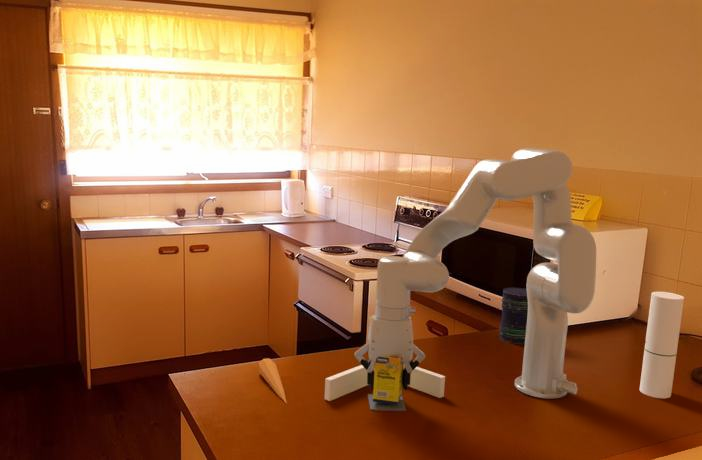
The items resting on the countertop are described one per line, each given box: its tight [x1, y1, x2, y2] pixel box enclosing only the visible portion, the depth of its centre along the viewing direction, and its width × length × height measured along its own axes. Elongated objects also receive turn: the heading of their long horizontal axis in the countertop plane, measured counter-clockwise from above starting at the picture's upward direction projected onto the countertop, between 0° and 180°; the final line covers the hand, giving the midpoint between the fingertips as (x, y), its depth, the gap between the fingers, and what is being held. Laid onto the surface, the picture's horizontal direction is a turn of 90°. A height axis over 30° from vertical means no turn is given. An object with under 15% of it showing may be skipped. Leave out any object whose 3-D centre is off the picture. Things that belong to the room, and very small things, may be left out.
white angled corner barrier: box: [324, 364, 446, 402], centre depth 149 cm, size 18×22×5 cm
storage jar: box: [498, 287, 528, 345], centre depth 196 cm, size 10×10×15 cm
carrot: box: [258, 358, 288, 405], centre depth 153 cm, size 20×4×4 cm, turn 22°
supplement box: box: [372, 356, 404, 405], centre depth 146 cm, size 6×6×11 cm
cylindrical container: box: [639, 291, 685, 399], centre depth 158 cm, size 7×7×25 cm
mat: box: [367, 393, 407, 412], centre depth 147 cm, size 8×8×1 cm
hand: (388, 386), depth 146 cm, fingers closed on supplement box, 7 cm apart
